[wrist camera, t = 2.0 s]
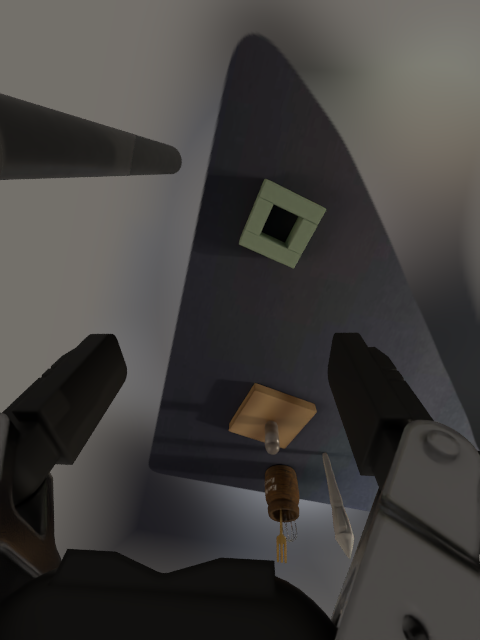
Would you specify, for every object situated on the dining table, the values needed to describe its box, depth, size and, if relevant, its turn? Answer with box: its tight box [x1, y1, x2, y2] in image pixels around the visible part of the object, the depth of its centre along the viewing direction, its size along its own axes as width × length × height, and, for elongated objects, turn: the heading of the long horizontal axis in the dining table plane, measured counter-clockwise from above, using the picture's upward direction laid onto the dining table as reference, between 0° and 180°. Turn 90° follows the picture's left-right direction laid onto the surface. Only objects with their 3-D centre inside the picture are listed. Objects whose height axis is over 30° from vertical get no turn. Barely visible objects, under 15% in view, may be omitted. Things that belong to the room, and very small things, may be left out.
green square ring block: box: [239, 179, 326, 268], centre depth 25 cm, size 6×6×3 cm
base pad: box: [229, 383, 317, 455], centre depth 37 cm, size 10×10×6 cm
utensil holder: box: [265, 465, 299, 563], centre depth 43 cm, size 6×6×12 cm
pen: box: [323, 453, 354, 559], centre depth 39 cm, size 2×3×14 cm
